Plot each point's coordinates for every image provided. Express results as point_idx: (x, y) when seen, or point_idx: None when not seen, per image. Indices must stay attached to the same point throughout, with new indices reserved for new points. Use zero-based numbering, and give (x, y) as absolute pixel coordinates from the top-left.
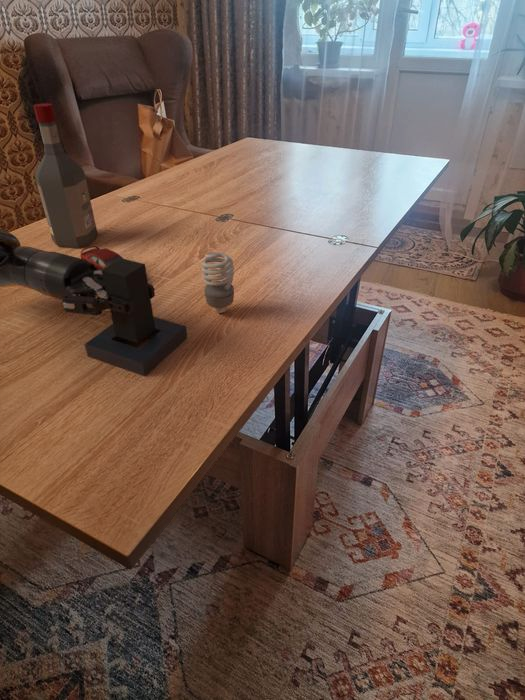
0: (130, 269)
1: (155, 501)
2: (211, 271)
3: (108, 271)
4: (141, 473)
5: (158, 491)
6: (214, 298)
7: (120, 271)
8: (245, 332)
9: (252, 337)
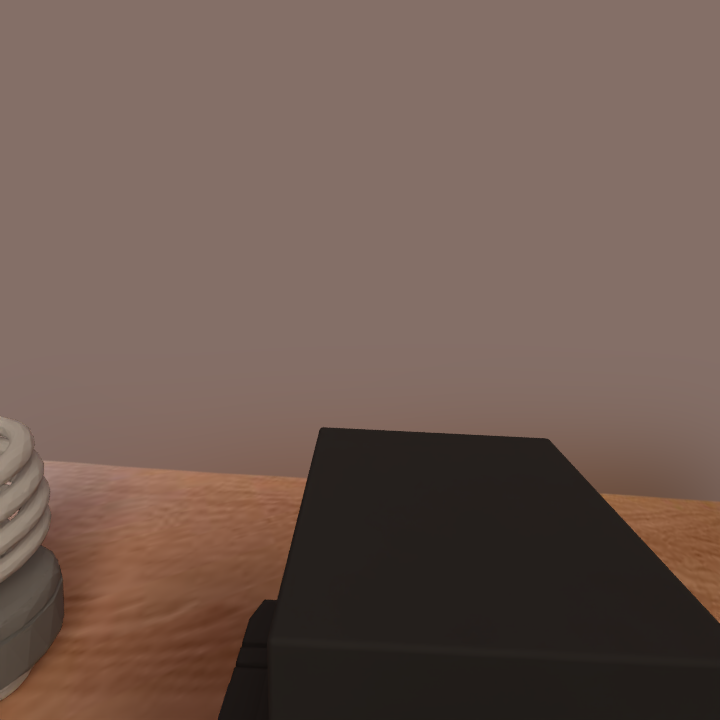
0: (448, 453)
1: (692, 511)
2: (23, 484)
3: (653, 558)
4: (700, 548)
5: (679, 515)
6: (54, 598)
7: (536, 482)
8: (173, 562)
9: (200, 540)
